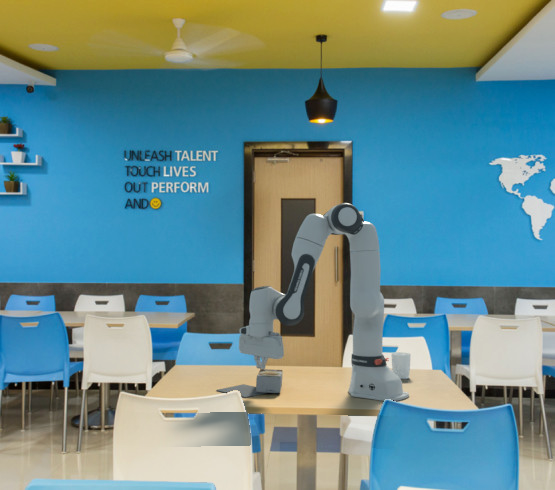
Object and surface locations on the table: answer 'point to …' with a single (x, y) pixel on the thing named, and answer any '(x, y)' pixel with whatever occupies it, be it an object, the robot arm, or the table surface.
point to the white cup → (401, 364)
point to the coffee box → (269, 381)
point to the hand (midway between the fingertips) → (260, 368)
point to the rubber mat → (243, 390)
